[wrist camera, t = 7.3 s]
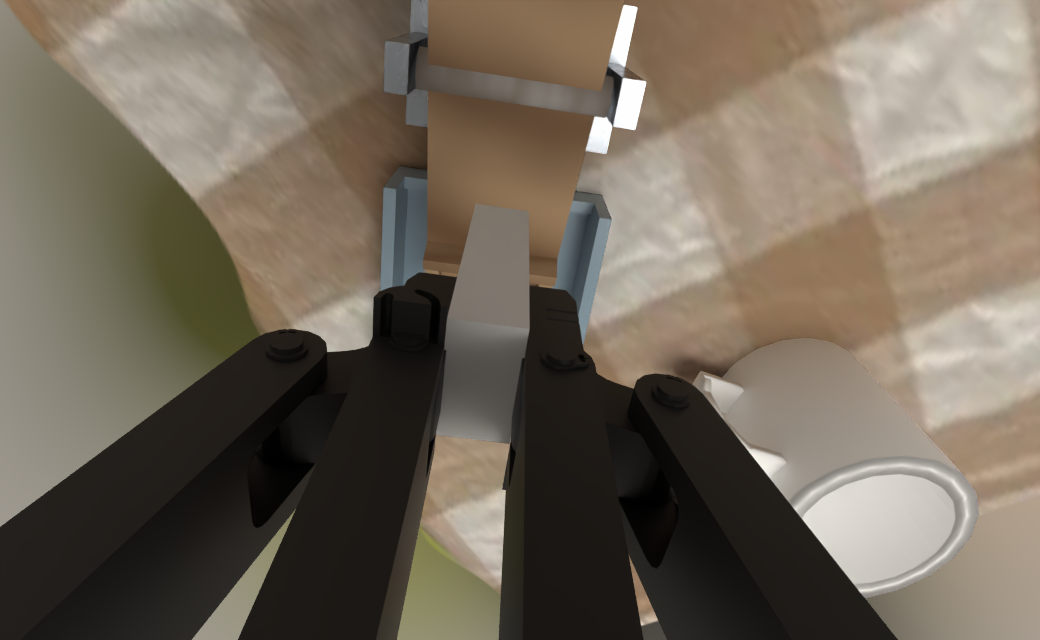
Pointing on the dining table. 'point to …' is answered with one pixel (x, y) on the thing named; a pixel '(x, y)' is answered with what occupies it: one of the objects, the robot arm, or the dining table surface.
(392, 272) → the tray
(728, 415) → the mug
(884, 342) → the dining table surface
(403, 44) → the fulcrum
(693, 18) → the dining table surface
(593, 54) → the lever
